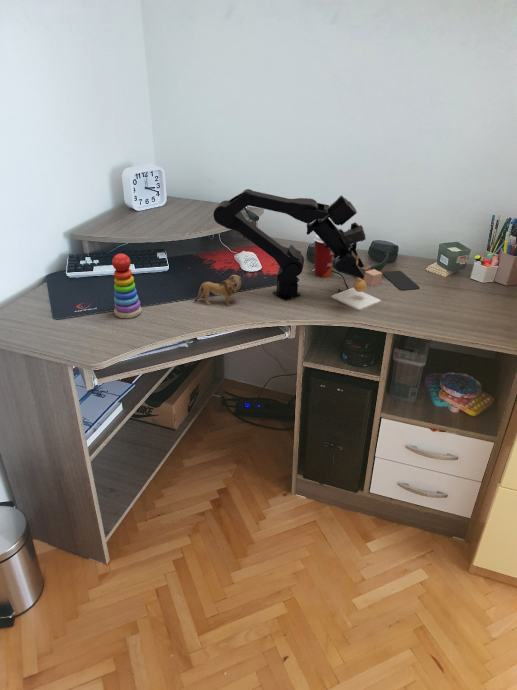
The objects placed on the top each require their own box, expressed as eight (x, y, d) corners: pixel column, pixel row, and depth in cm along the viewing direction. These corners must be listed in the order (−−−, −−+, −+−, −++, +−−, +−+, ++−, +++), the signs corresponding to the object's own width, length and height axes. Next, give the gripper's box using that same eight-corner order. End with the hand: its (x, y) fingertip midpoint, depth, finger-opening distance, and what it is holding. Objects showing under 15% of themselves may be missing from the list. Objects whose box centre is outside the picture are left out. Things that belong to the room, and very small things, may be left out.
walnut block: (354, 277, 188) (355, 266, 186) (360, 274, 190) (361, 263, 188) (364, 280, 186) (365, 269, 184) (370, 277, 188) (371, 266, 186)
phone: (400, 289, 178) (381, 271, 191) (399, 292, 179) (380, 274, 191) (421, 287, 180) (400, 270, 192) (420, 290, 180) (400, 272, 193)
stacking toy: (112, 309, 165) (104, 250, 155) (138, 305, 167) (132, 247, 158) (117, 321, 158) (109, 260, 149) (144, 316, 161) (138, 256, 152)
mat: (331, 297, 174) (331, 295, 173) (352, 289, 179) (353, 287, 179) (359, 310, 166) (359, 309, 165) (381, 302, 171) (381, 300, 171)
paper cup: (335, 279, 186) (338, 239, 179) (312, 278, 186) (315, 239, 179) (332, 270, 193) (336, 231, 186) (311, 269, 193) (313, 231, 186)
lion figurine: (241, 298, 173) (240, 271, 168) (241, 305, 168) (241, 278, 164) (194, 299, 172) (192, 272, 167) (193, 306, 167) (192, 279, 163)
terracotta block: (363, 282, 184) (365, 271, 182) (372, 280, 186) (374, 269, 184) (371, 286, 181) (373, 275, 179) (380, 284, 183) (382, 273, 181)
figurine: (367, 297, 167) (372, 260, 161) (347, 296, 167) (352, 259, 161) (363, 286, 175) (368, 250, 169) (344, 285, 175) (348, 249, 169)
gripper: (351, 227, 152) (386, 267, 156) (351, 208, 168) (383, 245, 172) (320, 252, 157) (355, 290, 161) (323, 231, 172) (354, 266, 177)
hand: (362, 272), depth 167 cm, fingers closed on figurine, 8 cm apart
